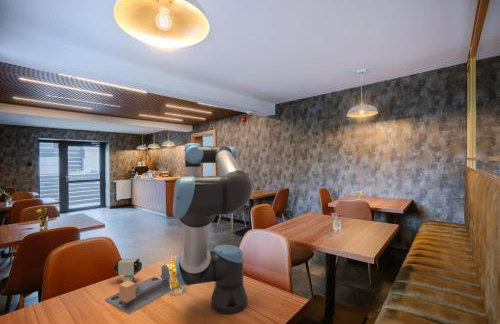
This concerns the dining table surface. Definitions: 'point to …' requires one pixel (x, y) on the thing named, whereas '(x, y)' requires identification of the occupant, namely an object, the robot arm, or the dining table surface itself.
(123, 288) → the tan rectangular block
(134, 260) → the pneumatic valve
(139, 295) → the beam with fixed leg
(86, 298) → the dining table surface
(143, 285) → the bolt plate
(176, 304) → the dining table surface
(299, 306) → the dining table surface
